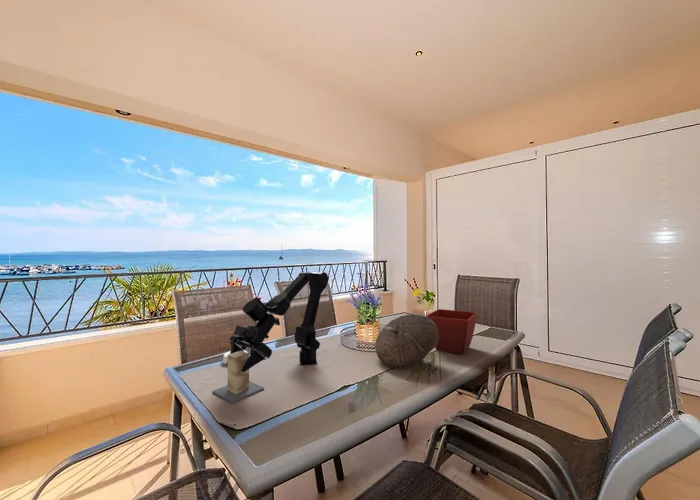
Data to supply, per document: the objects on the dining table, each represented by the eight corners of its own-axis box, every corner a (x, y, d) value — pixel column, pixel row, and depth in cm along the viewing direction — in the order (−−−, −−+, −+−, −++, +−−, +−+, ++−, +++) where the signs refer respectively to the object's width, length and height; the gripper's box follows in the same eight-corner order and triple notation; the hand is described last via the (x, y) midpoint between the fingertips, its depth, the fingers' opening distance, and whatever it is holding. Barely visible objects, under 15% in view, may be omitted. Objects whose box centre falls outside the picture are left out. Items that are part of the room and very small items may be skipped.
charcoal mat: (244, 380, 111) (244, 378, 111) (264, 389, 103) (264, 387, 103) (212, 392, 101) (212, 390, 101) (231, 403, 94) (231, 401, 94)
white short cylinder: (239, 366, 125) (239, 357, 125) (218, 364, 127) (218, 356, 127) (252, 358, 135) (252, 350, 135) (232, 356, 137) (232, 348, 137)
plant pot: (425, 350, 142) (425, 315, 142) (439, 340, 158) (438, 308, 158) (468, 358, 131) (467, 320, 131) (477, 346, 147) (477, 312, 147)
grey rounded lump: (357, 362, 129) (366, 307, 139) (398, 373, 139) (404, 320, 149) (399, 365, 106) (406, 298, 117) (445, 377, 116) (448, 314, 126)
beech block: (240, 384, 106) (240, 350, 106) (249, 388, 103) (248, 353, 103) (227, 389, 102) (227, 354, 102) (235, 394, 99) (235, 357, 99)
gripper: (233, 312, 111) (204, 350, 102) (264, 319, 100) (234, 362, 91) (252, 329, 117) (226, 366, 109) (283, 337, 106) (256, 379, 97)
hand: (234, 368), depth 101 cm, fingers open, 9 cm apart
